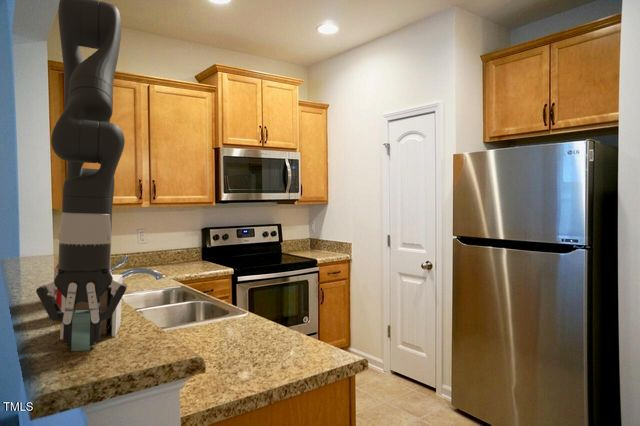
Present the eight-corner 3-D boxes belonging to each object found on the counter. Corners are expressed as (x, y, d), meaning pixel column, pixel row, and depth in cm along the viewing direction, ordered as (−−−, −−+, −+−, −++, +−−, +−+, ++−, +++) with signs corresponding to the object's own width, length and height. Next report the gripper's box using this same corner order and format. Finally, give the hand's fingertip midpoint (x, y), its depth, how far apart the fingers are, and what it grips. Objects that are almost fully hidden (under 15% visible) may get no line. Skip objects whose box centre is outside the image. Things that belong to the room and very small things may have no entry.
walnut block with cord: (80, 327, 83) (82, 286, 83) (109, 326, 85) (110, 285, 85) (62, 351, 69) (64, 301, 69) (97, 349, 71) (99, 301, 71)
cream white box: (71, 326, 84) (73, 275, 84) (120, 324, 87) (122, 274, 87) (60, 339, 76) (62, 282, 76) (115, 336, 79) (117, 281, 79)
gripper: (133, 239, 77) (129, 336, 77) (43, 238, 73) (39, 341, 73) (129, 242, 70) (125, 349, 70) (29, 241, 66) (25, 355, 66)
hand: (81, 344), depth 71 cm, fingers closed on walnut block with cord, 2 cm apart
